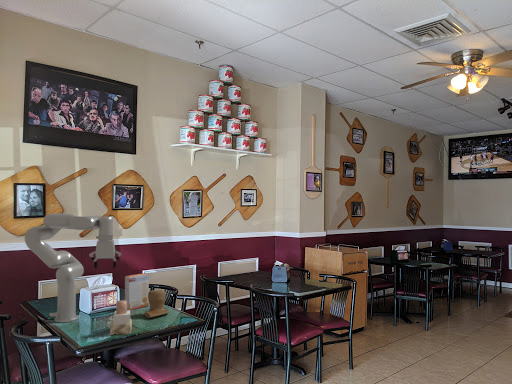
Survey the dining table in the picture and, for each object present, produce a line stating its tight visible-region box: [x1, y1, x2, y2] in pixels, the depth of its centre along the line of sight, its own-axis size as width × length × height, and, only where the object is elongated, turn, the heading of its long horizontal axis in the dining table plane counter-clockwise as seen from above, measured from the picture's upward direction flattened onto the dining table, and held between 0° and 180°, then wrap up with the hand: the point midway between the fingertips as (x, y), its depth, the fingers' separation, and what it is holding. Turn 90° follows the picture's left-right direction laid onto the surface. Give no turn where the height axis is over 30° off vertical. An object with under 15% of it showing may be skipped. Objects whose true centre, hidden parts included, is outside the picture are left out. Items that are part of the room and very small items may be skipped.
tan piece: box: [143, 289, 170, 319], centre depth 245 cm, size 15×12×15 cm
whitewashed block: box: [113, 310, 131, 325], centre depth 216 cm, size 8×8×5 cm
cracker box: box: [124, 273, 150, 311], centre depth 262 cm, size 14×6×21 cm, turn 136°
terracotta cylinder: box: [115, 299, 127, 314], centre depth 216 cm, size 5×5×6 cm
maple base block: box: [109, 318, 133, 336], centre depth 216 cm, size 10×10×5 cm
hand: (105, 268), depth 233 cm, fingers open, 9 cm apart
